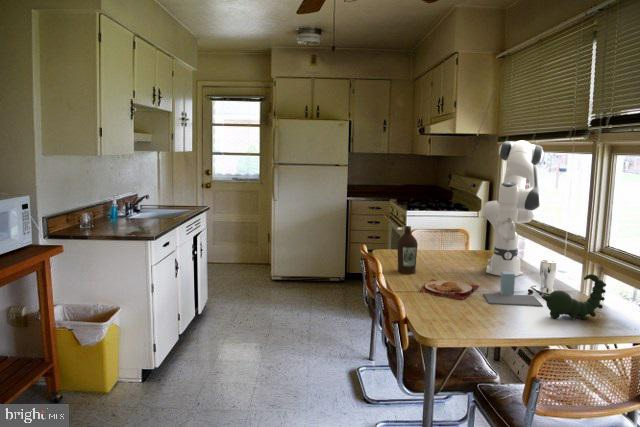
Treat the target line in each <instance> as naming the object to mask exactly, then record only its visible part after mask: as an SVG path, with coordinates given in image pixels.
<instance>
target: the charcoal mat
mask: <svg viewBox="0 0 640 427" xmlns="http://www.w3.org/2000/svg"><path fill="white" fill-rule="evenodd" d="M483 296H484V298H485V300H486V301H487V303H488V304H489V305H504V306H505V305H506V306H525V307H541V308H542V307H544V306H543V303H541V302H540V301H539V300H538V298H537V297H536V296H535V295H526V294H514V295H509V294H501V293H486V292H484V293H483Z"/></svg>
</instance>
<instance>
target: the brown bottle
mask: <svg viewBox="0 0 640 427" xmlns="http://www.w3.org/2000/svg"><path fill="white" fill-rule="evenodd" d="M397 240H398V241H397V245H396V246H397V248H396V249H397V272H398V273H399V274H403V275H413V273H414V274H415V273H416V270H417V268H416V267H417V258H418V257H417V256H418V254H417V253H418V241H417V239H416V237H415V236H414V235H413V234H412V226H410V225H405V226H404V233H403V234H402V235H401V237H399V238H398V239H397Z"/></svg>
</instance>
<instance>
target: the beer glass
mask: <svg viewBox="0 0 640 427" xmlns="http://www.w3.org/2000/svg"><path fill="white" fill-rule="evenodd" d="M556 274H557V261H556V260H554V259H541V260H540V265H539V279H540V287H539V291H540V292H539V293H541V292H543V293H542V294H544V293H546V294H545V295H549V294H550V293H551V292H553V291H554V282H555V279H556Z"/></svg>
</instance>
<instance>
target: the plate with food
mask: <svg viewBox="0 0 640 427" xmlns="http://www.w3.org/2000/svg"><path fill="white" fill-rule="evenodd" d="M479 286H480V285H479V284H474V283H473V284H469V283H465V282H462V281H454V280H437V279H430V281H429V282H426V283H424V284H423V285H422V286H421V288H419V287H418V289H419V290H418V293H421V294H423V293H425V294H427V293H428V294H430V295H431V296H432V295H433V296H435V297H438V296H439V298H440V297H442V298H443V297H444V295H446V297H447V298H449V299H453V300H455V299H458V300H459V299H461V300H465V299H467V298H469V296H470V295H471V294H472V293H474V292H475V291H476V289H478V288H479ZM423 288H424V289H423Z"/></svg>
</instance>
